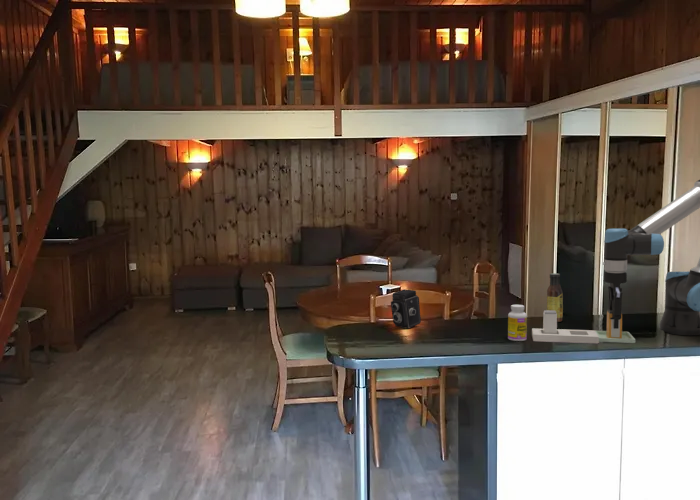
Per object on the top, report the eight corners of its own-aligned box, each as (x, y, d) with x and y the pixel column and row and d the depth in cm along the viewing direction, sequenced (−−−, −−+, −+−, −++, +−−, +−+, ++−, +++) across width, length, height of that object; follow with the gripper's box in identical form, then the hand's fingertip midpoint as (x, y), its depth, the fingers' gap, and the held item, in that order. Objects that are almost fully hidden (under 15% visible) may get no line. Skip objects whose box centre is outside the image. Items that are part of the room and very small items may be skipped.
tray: (628, 336, 225) (628, 331, 225) (635, 344, 214) (635, 339, 213) (593, 335, 228) (593, 330, 228) (598, 343, 217) (598, 338, 216)
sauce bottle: (563, 322, 250) (564, 274, 248) (547, 322, 252) (548, 274, 250) (561, 319, 257) (561, 272, 255) (545, 319, 258) (546, 272, 256)
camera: (385, 327, 249) (384, 291, 247) (404, 323, 256) (404, 287, 255) (404, 331, 241) (403, 294, 239) (423, 327, 248) (423, 290, 246)
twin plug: (555, 337, 224) (555, 310, 223) (556, 340, 220) (557, 312, 219) (543, 336, 225) (543, 310, 224) (543, 339, 221) (544, 312, 220)
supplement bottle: (516, 343, 219) (516, 308, 218) (504, 339, 225) (504, 305, 223) (530, 340, 222) (531, 306, 221) (517, 337, 228) (518, 303, 226)
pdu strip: (594, 338, 223) (594, 330, 223) (598, 345, 214) (598, 336, 213) (531, 336, 229) (532, 328, 228) (533, 342, 219) (533, 334, 219)
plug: (619, 336, 222) (619, 310, 222) (621, 339, 218) (622, 312, 217) (606, 336, 224) (606, 309, 223) (608, 339, 219) (609, 312, 218)
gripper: (600, 268, 228) (599, 329, 230) (608, 274, 211) (607, 340, 213) (621, 268, 226) (620, 330, 228) (631, 275, 209) (630, 341, 211)
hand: (614, 335), depth 221 cm, fingers closed on plug, 4 cm apart
